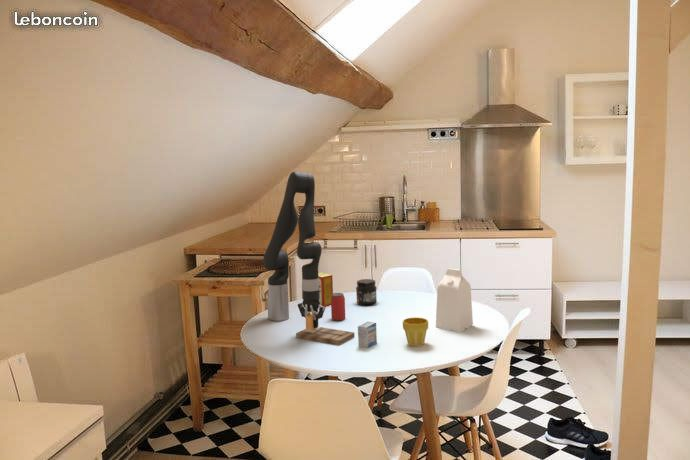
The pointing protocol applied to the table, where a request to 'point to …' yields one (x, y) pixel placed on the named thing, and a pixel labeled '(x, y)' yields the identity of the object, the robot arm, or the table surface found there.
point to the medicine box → (367, 334)
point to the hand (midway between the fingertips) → (312, 327)
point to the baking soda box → (325, 289)
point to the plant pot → (415, 330)
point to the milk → (454, 302)
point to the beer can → (338, 306)
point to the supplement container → (366, 292)
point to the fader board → (327, 336)
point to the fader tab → (310, 324)
